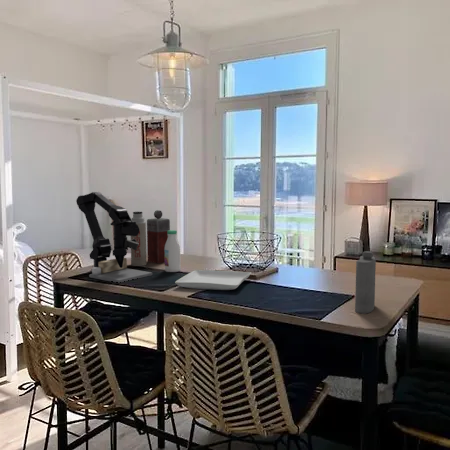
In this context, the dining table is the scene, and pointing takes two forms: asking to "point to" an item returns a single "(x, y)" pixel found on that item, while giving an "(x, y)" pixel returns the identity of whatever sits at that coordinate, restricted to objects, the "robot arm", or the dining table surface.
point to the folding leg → (111, 265)
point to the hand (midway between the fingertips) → (121, 267)
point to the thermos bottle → (139, 241)
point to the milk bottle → (172, 252)
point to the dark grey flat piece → (118, 274)
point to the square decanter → (157, 237)
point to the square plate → (213, 279)
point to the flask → (365, 283)
